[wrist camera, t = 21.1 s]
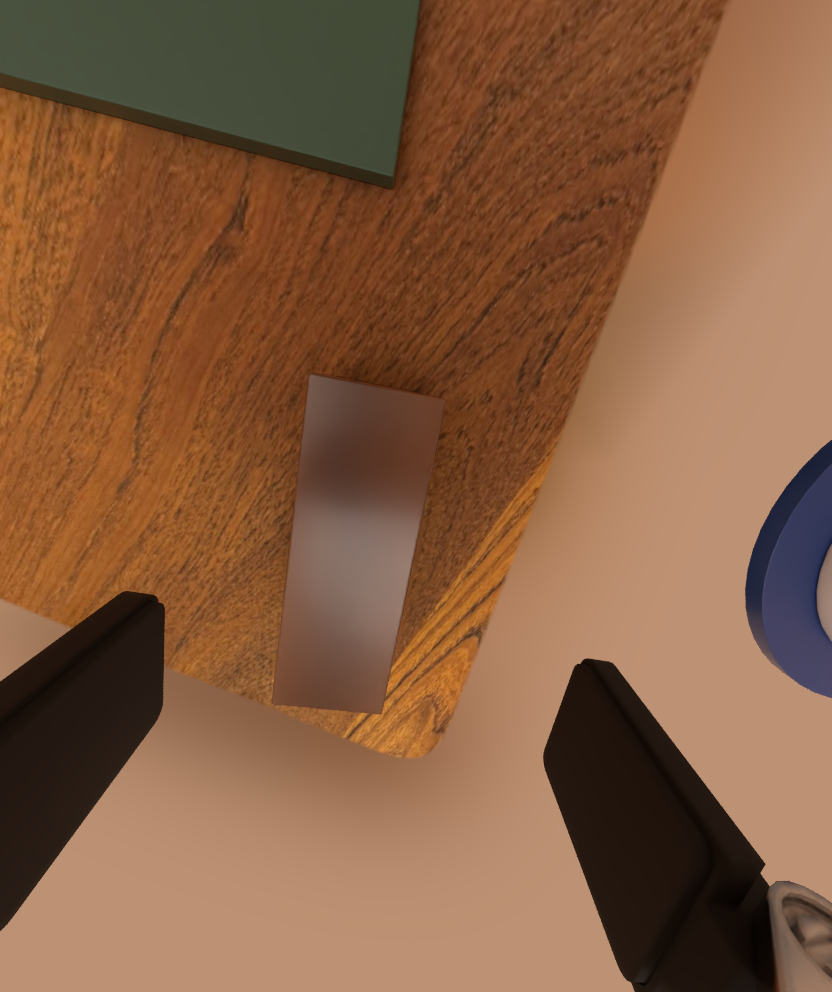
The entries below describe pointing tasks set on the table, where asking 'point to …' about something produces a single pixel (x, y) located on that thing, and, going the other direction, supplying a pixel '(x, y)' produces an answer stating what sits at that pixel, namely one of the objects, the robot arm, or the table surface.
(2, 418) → the table surface
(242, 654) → the table surface
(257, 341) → the table surface
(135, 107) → the chalkboard
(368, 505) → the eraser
